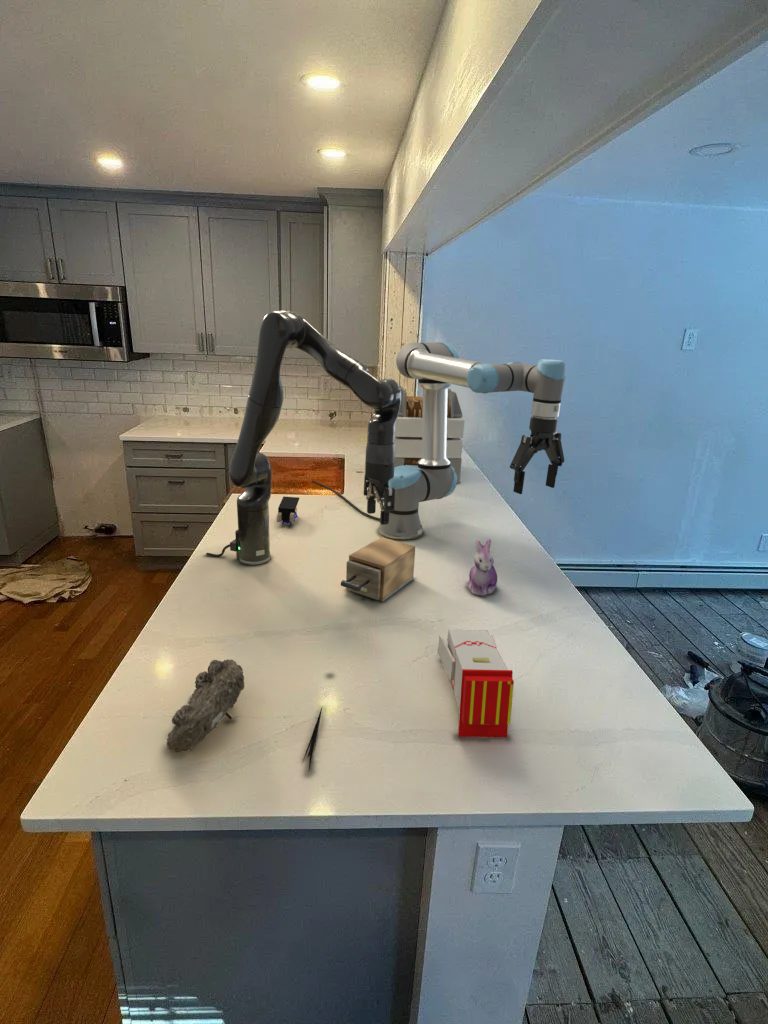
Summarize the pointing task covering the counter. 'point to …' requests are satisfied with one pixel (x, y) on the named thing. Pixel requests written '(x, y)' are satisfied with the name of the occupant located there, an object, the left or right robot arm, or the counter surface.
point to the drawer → (363, 579)
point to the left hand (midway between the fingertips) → (377, 518)
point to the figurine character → (287, 510)
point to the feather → (313, 740)
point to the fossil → (206, 705)
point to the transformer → (411, 431)
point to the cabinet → (388, 563)
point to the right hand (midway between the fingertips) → (534, 489)
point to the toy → (478, 682)
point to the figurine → (483, 571)
